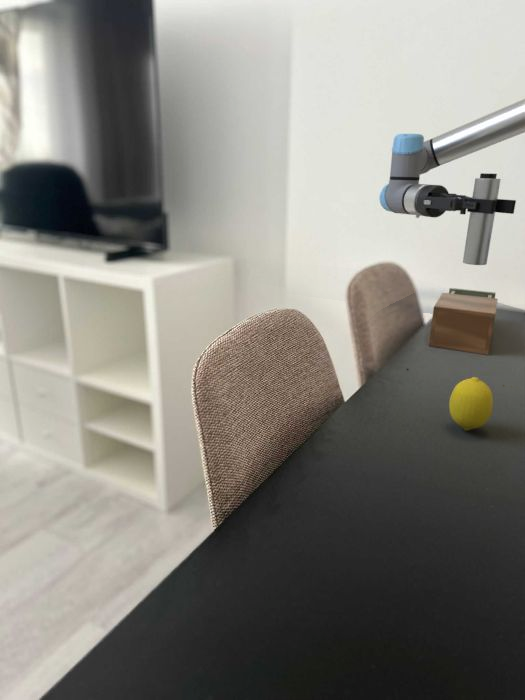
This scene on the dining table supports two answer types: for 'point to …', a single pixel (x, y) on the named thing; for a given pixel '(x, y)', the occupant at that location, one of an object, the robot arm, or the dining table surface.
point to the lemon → (471, 403)
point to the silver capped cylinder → (481, 221)
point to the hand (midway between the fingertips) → (503, 207)
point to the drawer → (472, 293)
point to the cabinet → (463, 323)
